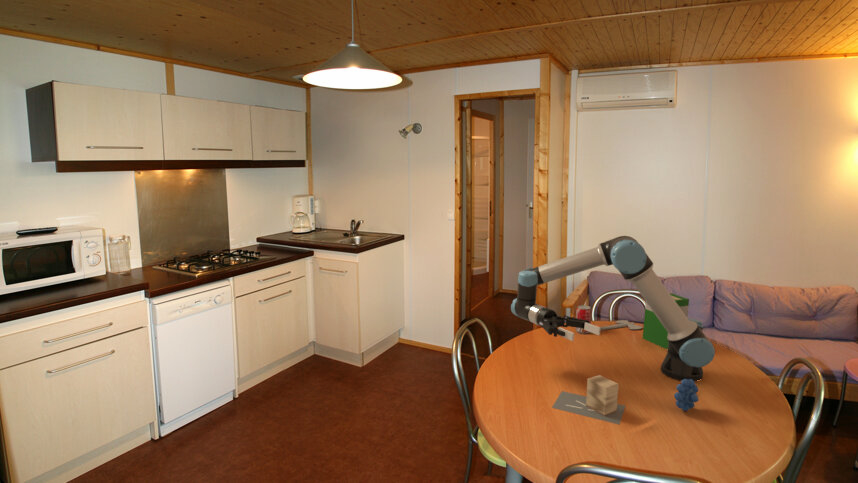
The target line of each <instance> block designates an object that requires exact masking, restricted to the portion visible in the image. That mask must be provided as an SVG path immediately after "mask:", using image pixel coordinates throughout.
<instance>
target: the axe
mask: <svg viewBox="0 0 858 483" xmlns="http://www.w3.org/2000/svg"><path fill="white" fill-rule="evenodd" d="M614 323H615V324H613V325H612V324H611V325H606V326H605V325H604V326H599V327H600V328H601V329H600V332H602V331H607V330H615V329H619V328H621V329H622V328H626V327H628V328H629V330H640V329H643V327H644V326H640V325H637V324H635V322H633V321H632V322H630V321H629V320H628V319H627V320H625V319H624V320H623V319H621V320H616V321H615V322H614Z"/></svg>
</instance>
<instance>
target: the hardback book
mask: <svg viewBox="0 0 858 483" xmlns="http://www.w3.org/2000/svg"><path fill="white" fill-rule="evenodd" d="M669 293H670V295H671V296H672V297H673V299H674V300H675V302H676V303H677V304H678V306H679V307H680V309H681V310H682V311H683V313H684V314H685V315H686V317H687V318H688V313H689V306H690V305H689V303H690V299H689V298H687V297H683V296H680V295H678V294H674V293H671V292H669ZM642 327H643V328H642V339H643V340H645V341H647V342H649V343H652V344H653V343H654V344H653V345H656V346H658V345H659V346H658V347H660V346H661V347H660V348H662V347H663V348H662V349H664V348H666V349H668V339H667V336H668V332H667V330H666V329H665V327H664V326H663V325H662V323H661V322H660V320H659V319H658V318H657V316H656V315H655V313H654V312H653V311H652V309H651V308H650V306H649V305H648V304H647V302H646V301H645V305H644V317H643V326H642ZM666 349H665V350H666Z"/></svg>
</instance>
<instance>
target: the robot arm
mask: <svg viewBox="0 0 858 483" xmlns="http://www.w3.org/2000/svg"><path fill="white" fill-rule="evenodd" d="M612 265H613V267H614V268H615V269H617V271H618V272H619V273H620V274H621V276H622V278H623V279H624V280H625V281H628V282H631V283H632V284H633V286H634V287H635V288H636V291H637V292H638V293H639V294H640V295H641V297H642V298H643V299H644V301H645V303H646V302H647V304H648V305H649V306H650V308H651V309H652V311H653V312H654V313H655V315H656V316H657V318H658V319H659V320H660V322H661V323H662V325H663V326H664V327H665V329H666V330H667V332H668V336H667V339H668V350H666V351H667V352H666V354H665V357H664V358H663V361H662V363H661V366H660V371H661V374H663V375H665V376H666V377H668V378H670V379H673V380H676V379H677V381H680V380H681V381H682V380H683V379H687V380H689V379H692V380H693V381H696V382H698V381H697V380H700V379H702V380H703V378H704V369H703V367H706V366H707V365H709V364H710V363H712V361H713V359H714V357H715V356H716V355H715V354H716V352H715V351H716V350H715V347H714V345H713V343H712V341H710V339H708V337H707V336H706V335H705V333H704V332H703V330H704V323H703V321H702V320H700V319H697V318H696V319H695V318H690V317H688V316H687V317H686V315H685V314H684V313H683V311H682V310H681V309H680V307H679V306H678V304H677V303H676V302H675V300H674V299H673V297H672V296H671V295H670V293H671V292H669V291H668V288H667V287H666V286H665V285H664V283H663V282H662V281H661V280H660V278H659V277H658V275H657V274H656V272H655V270H653V267H654V262H653V261H652V260H651V258H650V257H649V255H648V254H647V252H646V250H645V248H644V246H642V244H640V243H639V242H638V240H636V239H635V238H634V237H631V236H628V235H620V236H616V237H614V238H611V239H608V240H605V241H604V242H601V243H598V245H597V247H594V248H590V249H587V250H584V251H581V252H579V253H575V254H572V255H569V256H567V257H562V258H560V259H557V260H554V261H551V262H548V263H545V264H541V265H539V266H536V267H528V268H526V269H524V270H520V271H519V272H518V277H517V278H518V279H517V296H516V298H514V299H513V300H512V303H511V304H510V310H511V313H512V314H513V315H514V316H516V317H518V318H519V319H523V320H525V321H528V322H530V323H532V324H534V325H536V326H539V327H541V328H542V329H544V331H545V332H546V333H547V334H548V335H550V336H551V335H553V337H555V338H557V337H558V336H560V337H562V338H565V340H566V339H567V340H569V341H571V342H574V340H575V333H574V332H572V331H570V330H567V329H565V328H568V327H571V328H575V329H576V328H584V330H586V331H589V333H591V334H594V335H597V336H600V335H601V331H600V329H601V328H600V327H601V326H598V325H594V324H592V323H591V324H589V321H588V320H583V319H578V318H576V317H572V316H569V315H565V314H564V315H563V316H561V315H557V313H556V311H555V310H554V309H551V308H548V307H546V306H544V305H541V304H537V291H538V286H540V285H543V284H546V283H547V284H548V283H550V282H552V281H556V280H559V279H563V278H565V277H568V276H572V275H575V274H578V273H579V274H580V273H582V272H585V271H588V270H591V269H594V268H595V269H596V268H597V267H600V266H607V267H609V266H612ZM681 381H680V382H681ZM700 381H701V380H700Z"/></svg>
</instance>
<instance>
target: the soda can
mask: <svg viewBox="0 0 858 483" xmlns="http://www.w3.org/2000/svg"><path fill="white" fill-rule="evenodd" d="M591 308H592V307H591V306H589V305H583V304H581V305H580V304H579V305H578V306H577V308H576V310H575V311H576V314H575V315H576V316H575V318H578V319H583V320H588V321H589V324H592V323H591V322H592V309H591ZM575 332H577V333H579V334H580V335H581V334H582V335H586V334H589V333H590V332H589V331H586V330H584V328H576V327H575Z"/></svg>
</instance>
